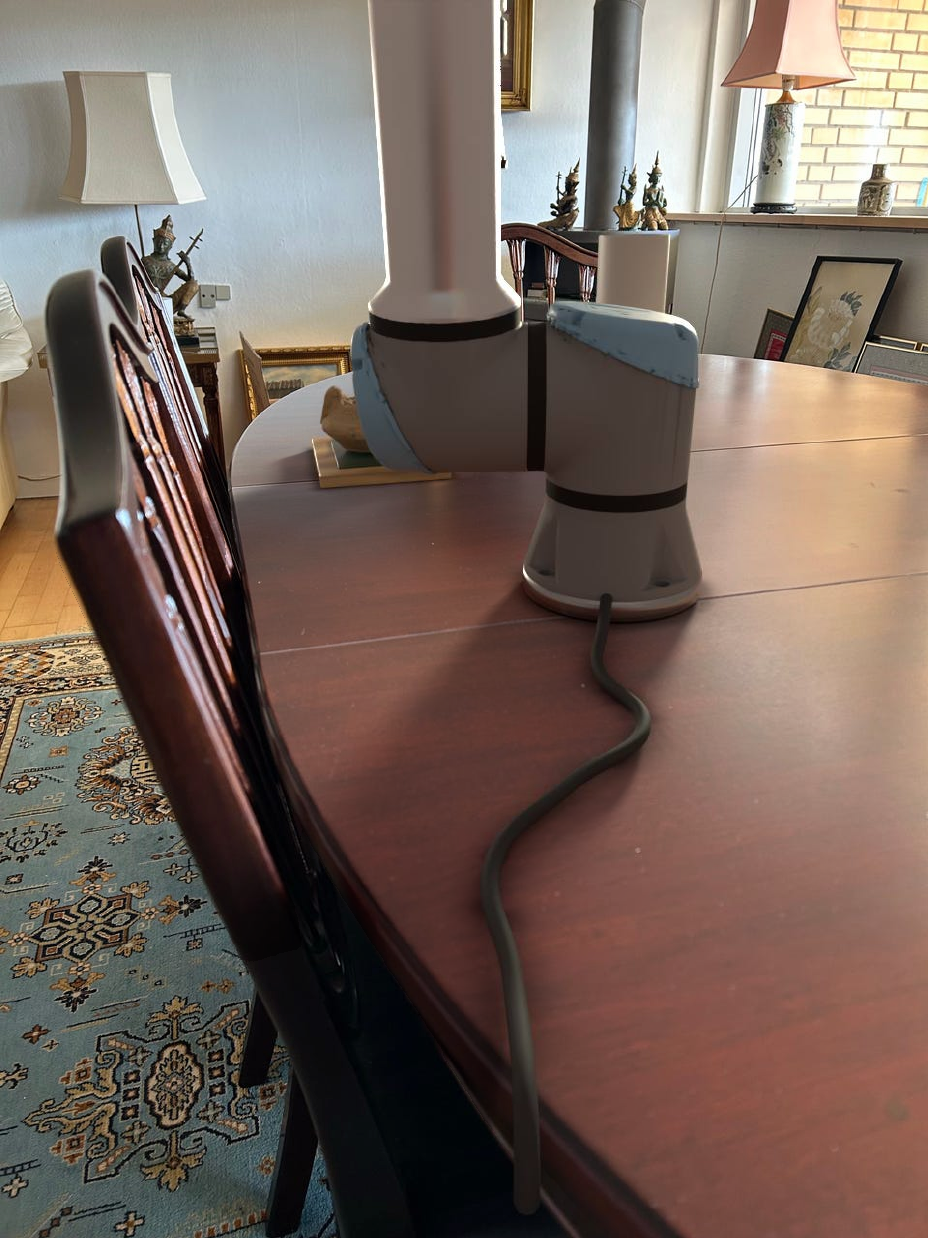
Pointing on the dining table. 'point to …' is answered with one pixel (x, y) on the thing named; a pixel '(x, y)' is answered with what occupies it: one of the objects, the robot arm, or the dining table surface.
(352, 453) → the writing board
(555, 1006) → the dining table surface
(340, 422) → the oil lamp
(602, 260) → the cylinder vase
